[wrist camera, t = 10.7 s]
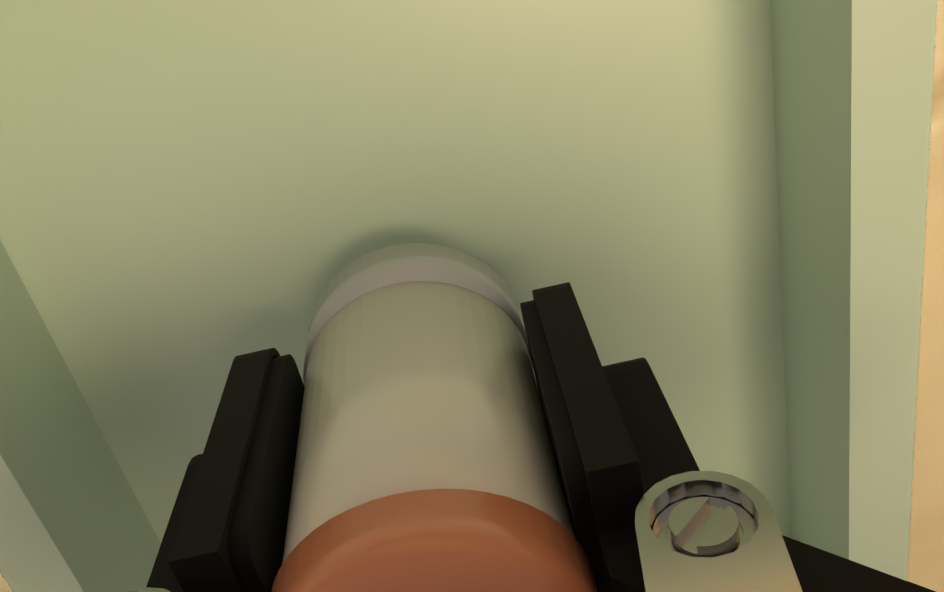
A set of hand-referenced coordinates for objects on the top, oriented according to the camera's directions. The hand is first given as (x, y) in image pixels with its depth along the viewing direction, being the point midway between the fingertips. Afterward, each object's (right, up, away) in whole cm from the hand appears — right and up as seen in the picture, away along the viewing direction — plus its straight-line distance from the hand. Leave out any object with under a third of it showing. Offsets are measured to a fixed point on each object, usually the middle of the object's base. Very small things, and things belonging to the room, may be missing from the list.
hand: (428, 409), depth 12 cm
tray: (0, +1, +3) cm, 3 cm away
